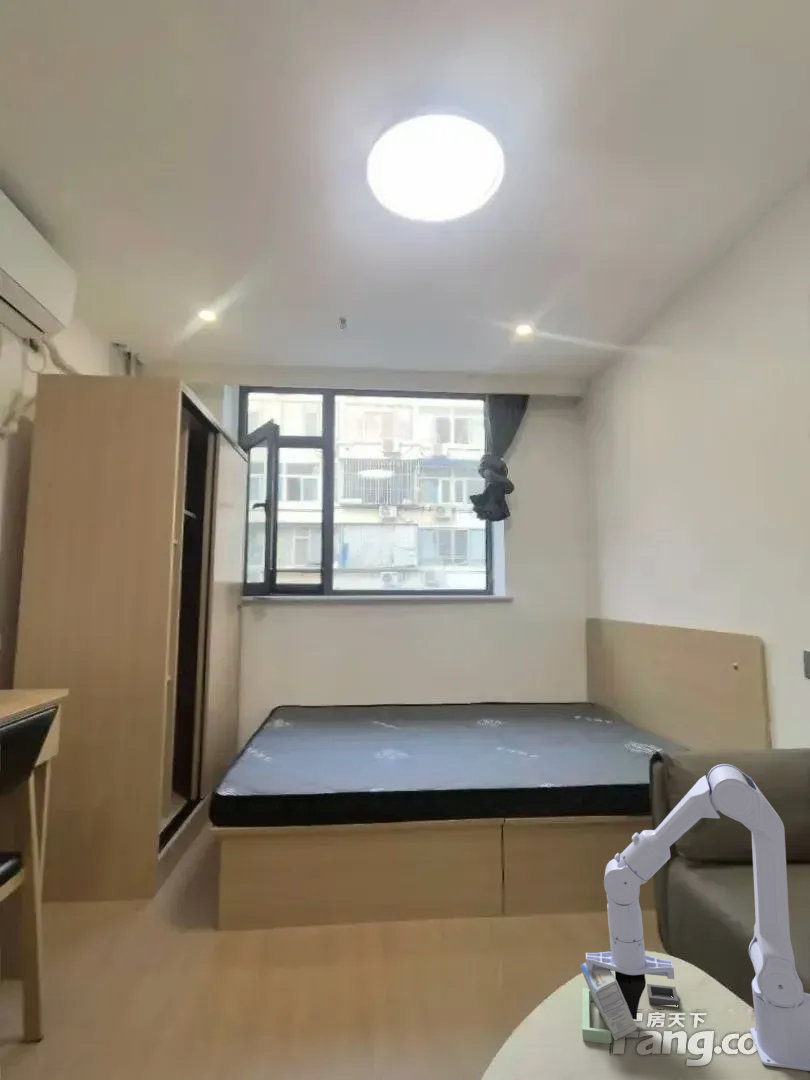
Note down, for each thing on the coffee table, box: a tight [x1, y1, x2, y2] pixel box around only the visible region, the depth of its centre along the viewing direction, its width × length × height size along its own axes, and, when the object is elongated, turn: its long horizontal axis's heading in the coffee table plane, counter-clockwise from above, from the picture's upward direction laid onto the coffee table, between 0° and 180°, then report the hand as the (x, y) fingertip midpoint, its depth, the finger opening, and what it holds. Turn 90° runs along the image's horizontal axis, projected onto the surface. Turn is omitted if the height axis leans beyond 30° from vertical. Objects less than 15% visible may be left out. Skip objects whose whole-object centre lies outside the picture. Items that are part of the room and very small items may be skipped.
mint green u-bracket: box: [581, 987, 612, 1045], centre depth 109 cm, size 5×11×2 cm, turn 164°
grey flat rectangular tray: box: [646, 983, 680, 1006], centre depth 114 cm, size 5×4×1 cm
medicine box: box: [579, 961, 638, 1041], centre depth 108 cm, size 8×4×9 cm, turn 3°
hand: (633, 1015), depth 108 cm, fingers closed
